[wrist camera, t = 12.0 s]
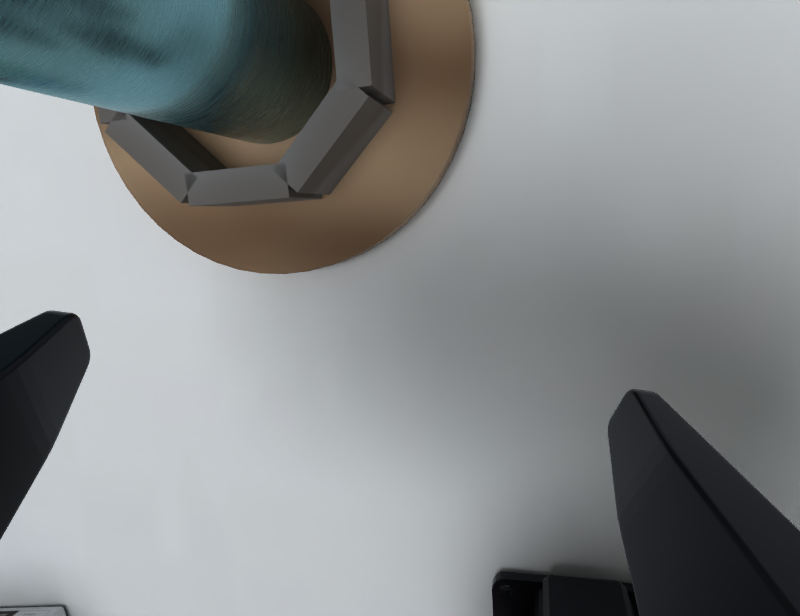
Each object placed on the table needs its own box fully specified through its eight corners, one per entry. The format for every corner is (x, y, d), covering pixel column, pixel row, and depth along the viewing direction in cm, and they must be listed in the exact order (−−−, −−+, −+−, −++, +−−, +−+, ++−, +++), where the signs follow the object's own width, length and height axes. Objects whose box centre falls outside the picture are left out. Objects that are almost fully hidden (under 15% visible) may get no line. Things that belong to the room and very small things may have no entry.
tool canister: (356, 21, 17) (-11, -362, 6) (297, 168, 18) (-96, 101, 7) (225, -39, 18) (-340, -491, 6) (178, 107, 19) (-360, -46, 8)
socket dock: (485, 260, 19) (472, 273, 15) (142, 277, 22) (65, 291, 19) (464, -201, 16) (443, -317, 13) (85, -100, 20) (-16, -169, 16)
